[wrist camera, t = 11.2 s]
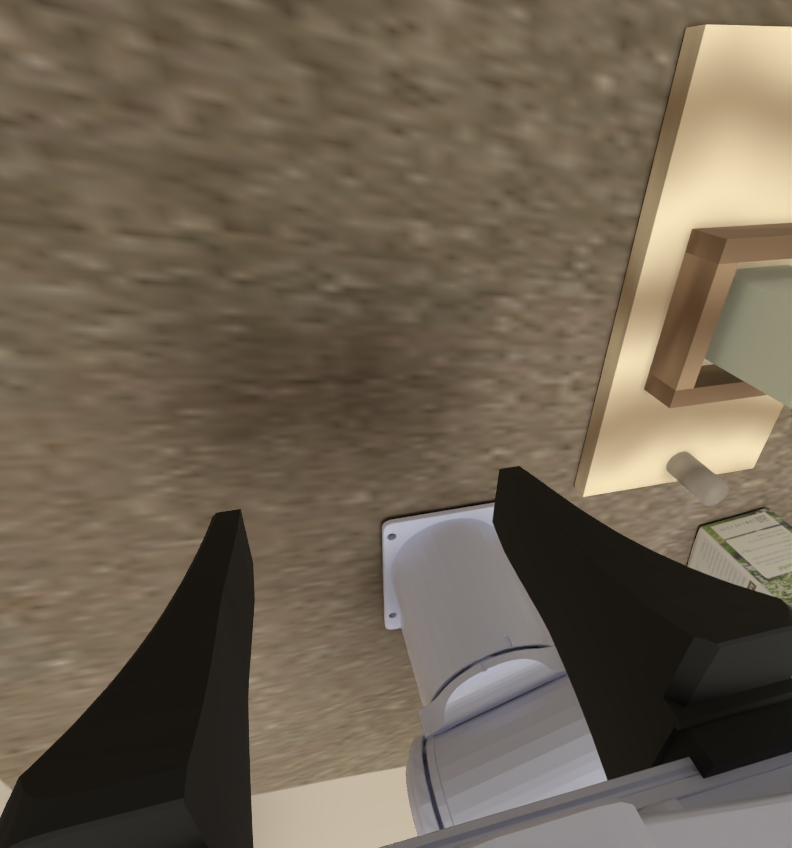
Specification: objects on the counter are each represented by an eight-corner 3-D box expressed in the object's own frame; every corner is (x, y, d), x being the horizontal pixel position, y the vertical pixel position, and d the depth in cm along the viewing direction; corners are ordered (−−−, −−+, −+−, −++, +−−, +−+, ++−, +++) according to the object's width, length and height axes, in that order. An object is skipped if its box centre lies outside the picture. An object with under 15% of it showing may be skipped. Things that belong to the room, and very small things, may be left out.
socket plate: (740, 458, 33) (794, 498, 30) (574, 486, 31) (612, 532, 27) (935, 34, 21) (1061, 22, 18) (686, 27, 19) (777, 12, 15)
